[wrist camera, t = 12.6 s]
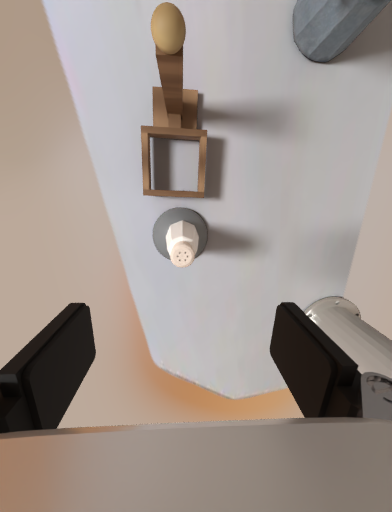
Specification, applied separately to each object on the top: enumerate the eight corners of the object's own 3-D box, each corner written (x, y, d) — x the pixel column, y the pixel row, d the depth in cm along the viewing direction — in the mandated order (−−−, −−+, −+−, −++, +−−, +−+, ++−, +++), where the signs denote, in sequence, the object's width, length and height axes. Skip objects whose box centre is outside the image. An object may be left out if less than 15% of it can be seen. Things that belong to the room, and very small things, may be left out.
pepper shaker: (199, 220, 32) (207, 232, 22) (198, 252, 34) (205, 278, 23) (165, 219, 32) (157, 232, 21) (166, 252, 33) (158, 279, 23)
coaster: (205, 261, 35) (205, 262, 34) (153, 260, 34) (153, 261, 34) (208, 208, 32) (209, 208, 32) (152, 206, 32) (151, 206, 31)
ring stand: (201, 197, 32) (220, 200, 16) (147, 195, 31) (113, 196, 16) (206, 93, 28) (237, -30, 12) (143, 88, 27) (93, -49, 12)
